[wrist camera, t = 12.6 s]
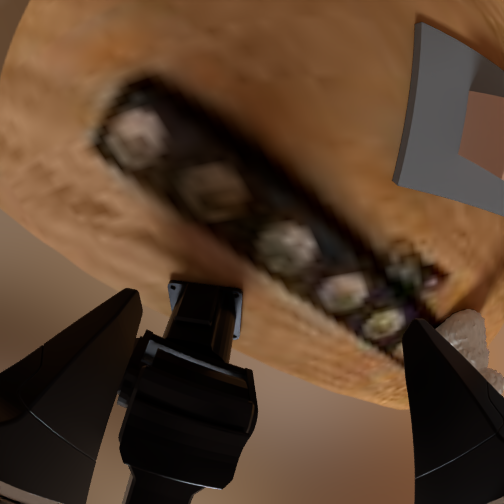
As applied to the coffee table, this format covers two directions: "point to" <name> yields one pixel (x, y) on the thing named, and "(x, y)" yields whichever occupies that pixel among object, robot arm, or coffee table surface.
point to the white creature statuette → (471, 343)
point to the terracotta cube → (484, 132)
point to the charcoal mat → (446, 121)
